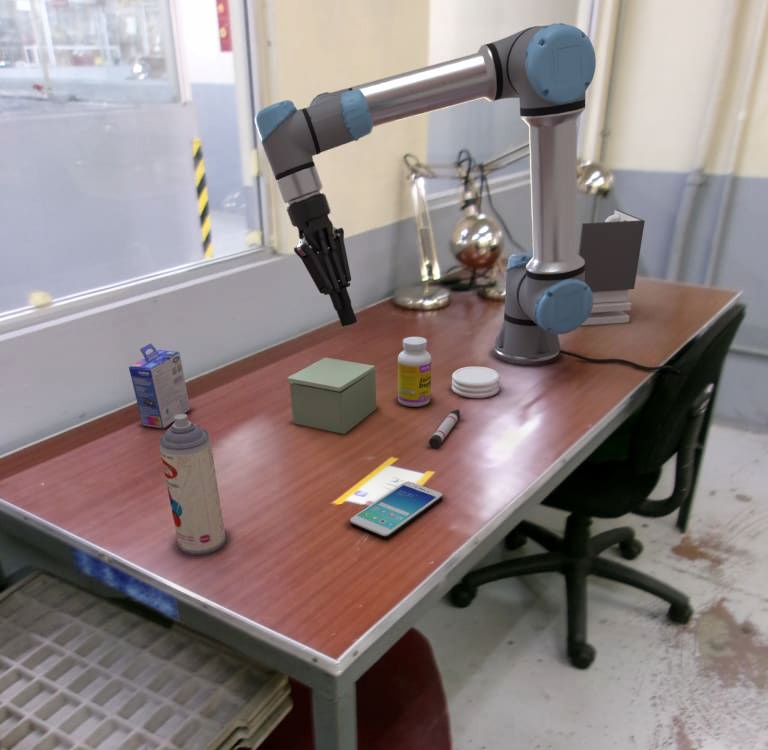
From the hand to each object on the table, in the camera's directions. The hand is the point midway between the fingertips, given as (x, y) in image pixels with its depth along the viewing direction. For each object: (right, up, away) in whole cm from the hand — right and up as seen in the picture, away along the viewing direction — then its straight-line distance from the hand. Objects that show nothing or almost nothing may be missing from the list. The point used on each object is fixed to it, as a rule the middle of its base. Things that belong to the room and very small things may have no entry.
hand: (349, 324), depth 143 cm
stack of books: (+61, +16, +56) cm, 85 cm away
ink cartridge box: (-36, -18, +4) cm, 41 cm away
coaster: (+26, -11, +14) cm, 31 cm away
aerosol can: (-20, -41, -34) cm, 57 cm away
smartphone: (+9, -36, -28) cm, 46 cm away
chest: (-3, -17, +3) cm, 18 cm away
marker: (+18, -21, -3) cm, 28 cm away
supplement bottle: (+13, -14, +9) cm, 21 cm away
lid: (-3, -10, -1) cm, 11 cm away
